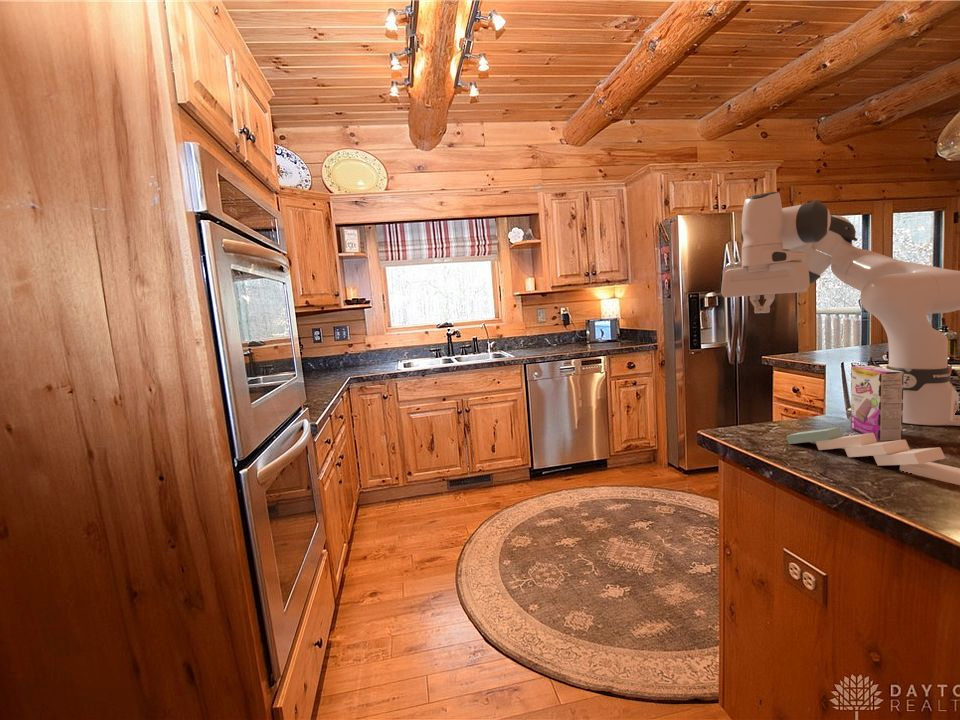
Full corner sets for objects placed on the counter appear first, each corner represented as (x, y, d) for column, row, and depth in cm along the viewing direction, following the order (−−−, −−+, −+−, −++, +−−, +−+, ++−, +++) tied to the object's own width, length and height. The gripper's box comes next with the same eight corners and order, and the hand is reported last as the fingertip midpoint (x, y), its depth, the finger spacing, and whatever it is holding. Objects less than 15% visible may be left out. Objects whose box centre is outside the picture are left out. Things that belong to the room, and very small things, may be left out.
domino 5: (914, 458, 87) (979, 472, 79) (913, 468, 87) (978, 483, 79) (899, 463, 85) (965, 477, 77) (899, 473, 85) (964, 488, 77)
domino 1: (798, 432, 107) (839, 427, 99) (801, 440, 107) (842, 436, 99) (785, 435, 105) (826, 430, 97) (788, 444, 105) (829, 439, 97)
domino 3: (865, 443, 95) (905, 439, 86) (869, 453, 94) (910, 449, 85) (844, 448, 94) (882, 444, 86) (847, 457, 94) (886, 454, 85)
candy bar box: (848, 429, 113) (849, 365, 112) (871, 428, 112) (872, 365, 111) (878, 441, 102) (879, 371, 101) (903, 441, 101) (905, 371, 100)
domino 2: (830, 438, 101) (873, 432, 93) (834, 446, 101) (877, 442, 93) (815, 441, 100) (857, 436, 92) (818, 450, 99) (861, 445, 91)
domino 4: (897, 450, 89) (940, 447, 80) (901, 460, 88) (945, 458, 79) (873, 455, 89) (913, 453, 80) (877, 465, 88) (918, 464, 79)
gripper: (715, 264, 120) (716, 315, 121) (798, 251, 102) (798, 312, 103) (730, 263, 122) (730, 313, 124) (813, 252, 104) (812, 310, 106)
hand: (762, 313), depth 113 cm, fingers closed
